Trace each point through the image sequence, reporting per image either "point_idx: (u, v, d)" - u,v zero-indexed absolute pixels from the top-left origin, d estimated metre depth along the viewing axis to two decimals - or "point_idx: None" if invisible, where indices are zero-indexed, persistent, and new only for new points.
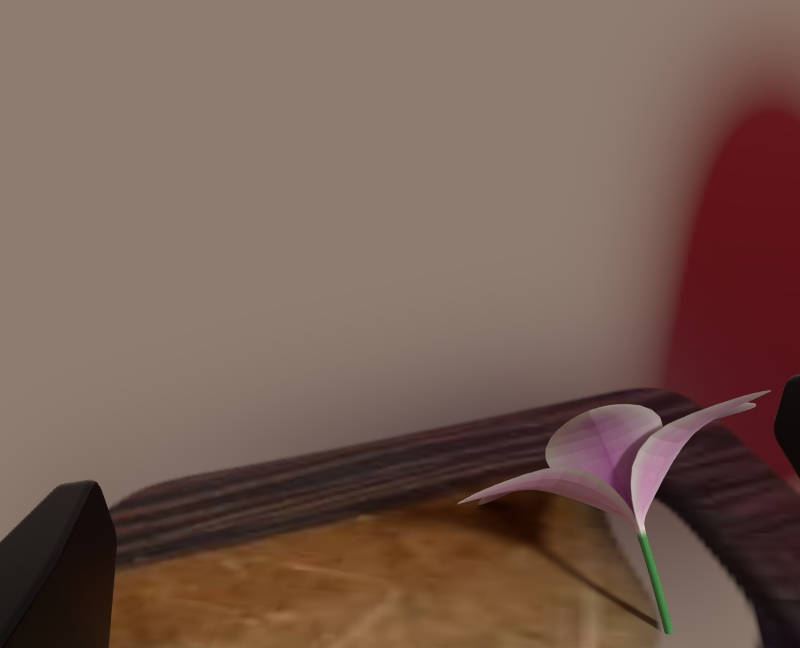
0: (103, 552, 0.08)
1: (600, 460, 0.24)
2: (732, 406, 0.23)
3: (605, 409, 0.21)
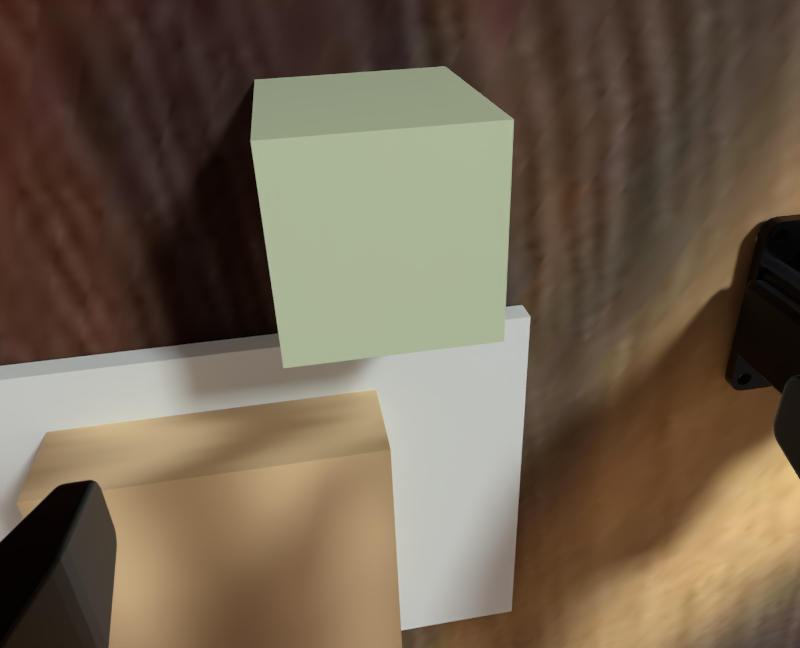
0: (103, 552, 0.08)
1: None
2: None
3: None
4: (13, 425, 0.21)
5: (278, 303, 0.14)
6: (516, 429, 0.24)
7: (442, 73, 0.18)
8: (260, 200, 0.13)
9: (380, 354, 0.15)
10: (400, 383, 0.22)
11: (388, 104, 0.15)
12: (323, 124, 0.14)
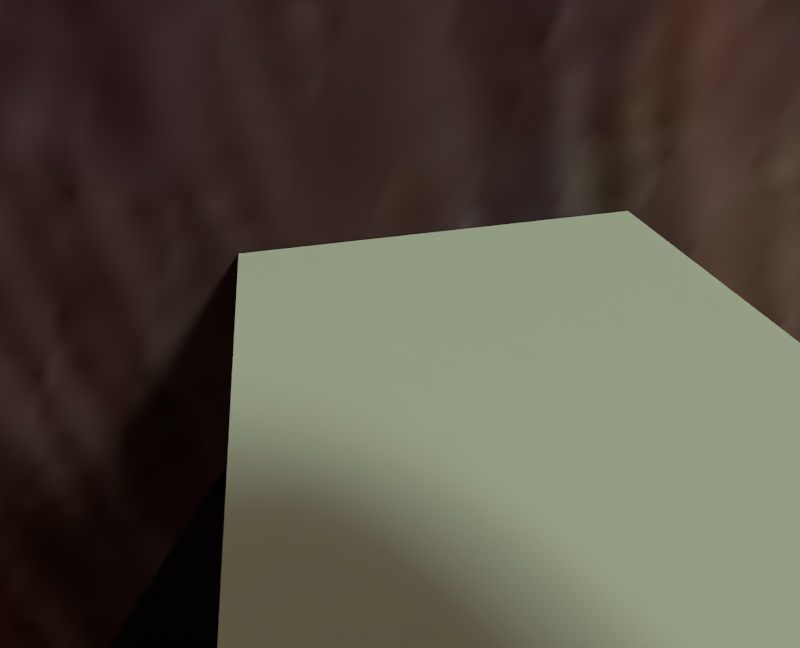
0: None
1: None
2: None
3: None
4: None
5: None
6: None
7: (644, 243, 0.08)
8: None
9: None
10: None
11: (604, 419, 0.05)
12: (458, 583, 0.04)
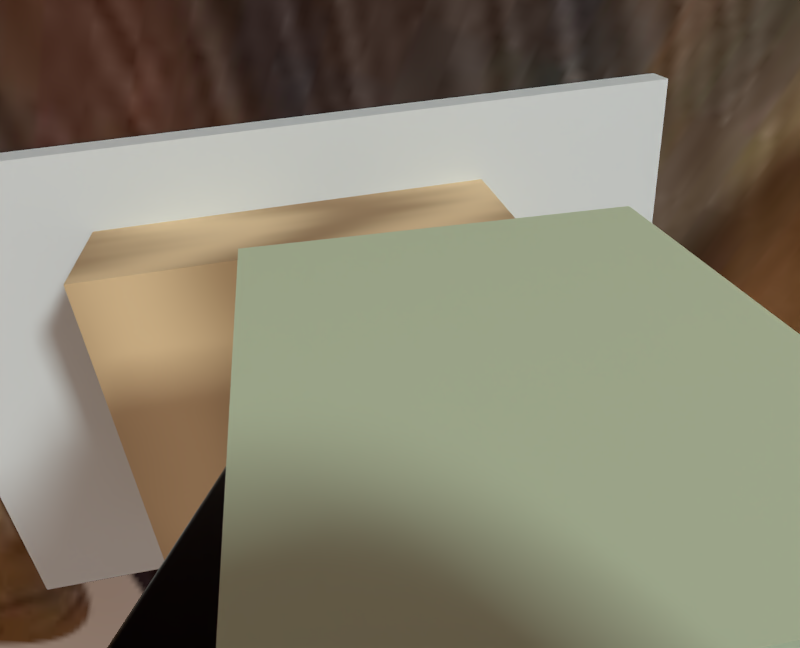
0: None
1: None
2: None
3: None
4: (53, 221, 0.17)
5: None
6: None
7: (645, 238, 0.08)
8: None
9: None
10: (510, 170, 0.18)
11: (605, 412, 0.05)
12: (459, 576, 0.04)
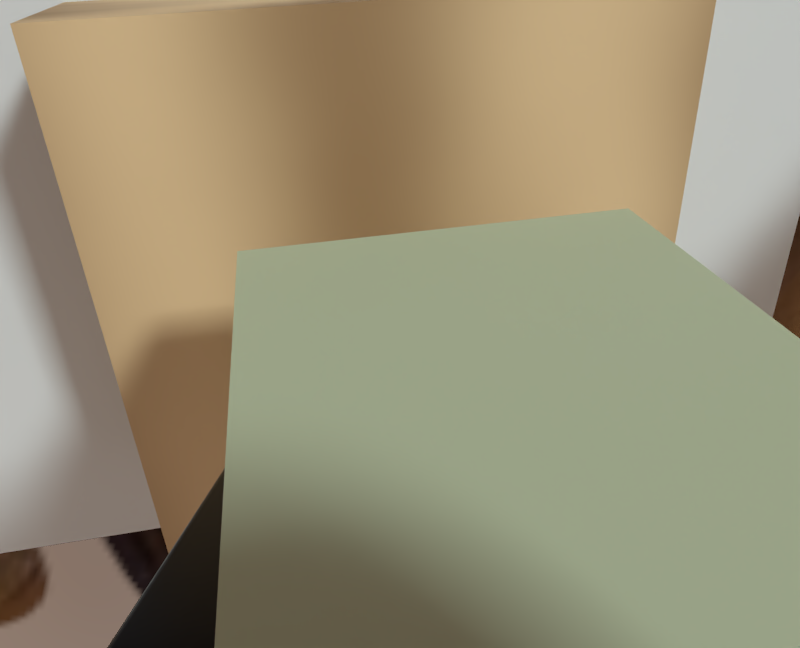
0: None
1: None
2: None
3: None
4: None
5: None
6: None
7: (644, 240, 0.08)
8: None
9: None
10: None
11: (605, 417, 0.05)
12: (458, 581, 0.04)
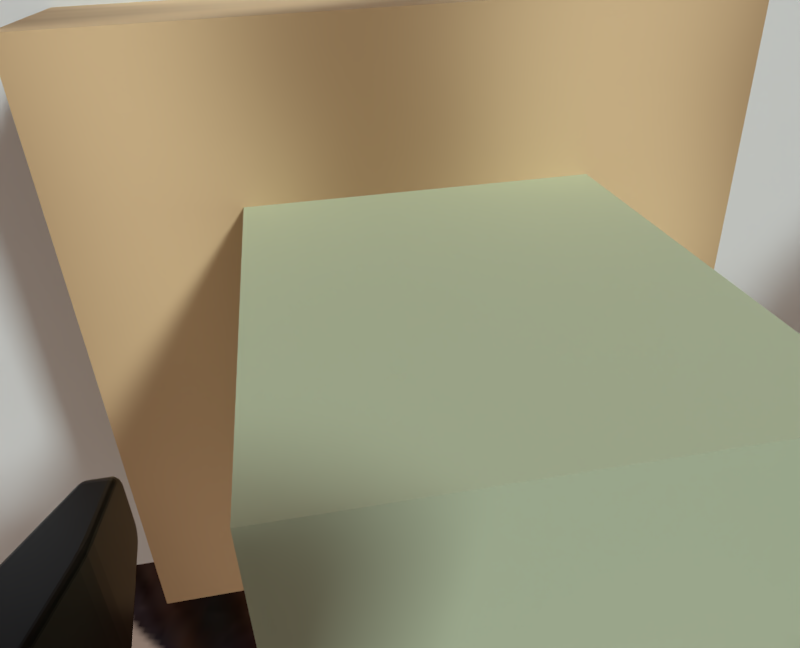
0: (126, 548, 0.08)
1: None
2: None
3: None
4: None
5: None
6: None
7: (596, 198, 0.09)
8: (259, 641, 0.05)
9: None
10: None
11: (545, 321, 0.07)
12: (418, 424, 0.05)
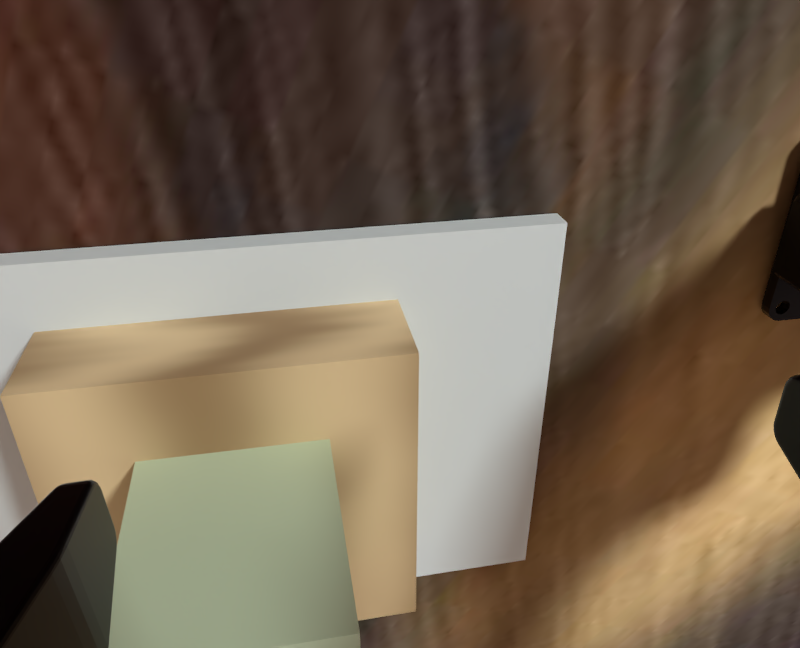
0: (103, 552, 0.08)
1: None
2: None
3: None
4: None
5: None
6: (543, 353, 0.22)
7: (322, 465, 0.18)
8: None
9: None
10: (424, 293, 0.20)
11: (248, 567, 0.15)
12: (171, 629, 0.14)
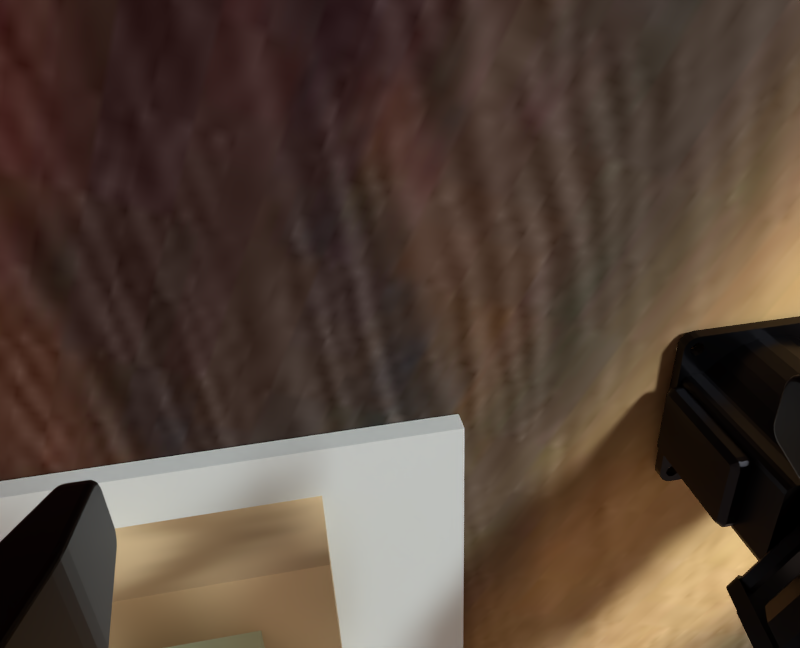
0: (103, 552, 0.08)
1: None
2: None
3: None
4: None
5: None
6: (457, 524, 0.26)
7: None
8: None
9: None
10: (345, 489, 0.24)
11: None
12: None
